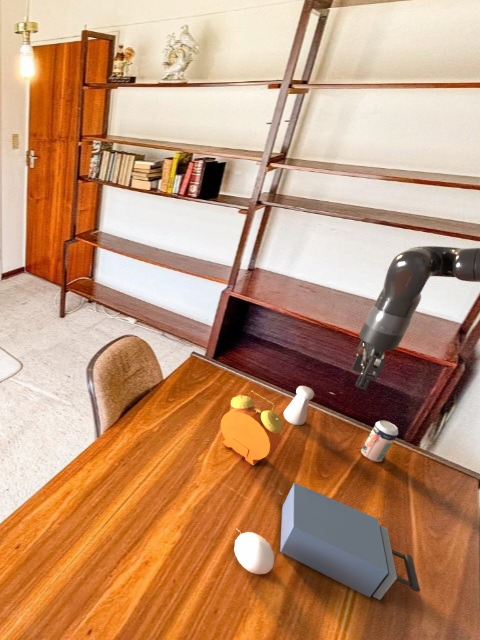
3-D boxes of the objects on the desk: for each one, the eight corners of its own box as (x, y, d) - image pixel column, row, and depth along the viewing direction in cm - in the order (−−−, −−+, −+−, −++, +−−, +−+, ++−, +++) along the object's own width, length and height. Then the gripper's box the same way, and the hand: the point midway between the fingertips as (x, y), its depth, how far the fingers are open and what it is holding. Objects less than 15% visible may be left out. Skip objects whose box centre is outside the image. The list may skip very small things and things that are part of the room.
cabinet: (360, 546, 89) (378, 519, 85) (367, 600, 79) (388, 572, 75) (281, 509, 96) (294, 482, 92) (278, 554, 87) (293, 526, 82)
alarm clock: (270, 463, 108) (295, 408, 100) (259, 473, 105) (283, 417, 97) (225, 431, 118) (244, 378, 110) (213, 440, 115) (232, 386, 106)
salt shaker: (286, 427, 121) (300, 394, 115) (278, 413, 126) (291, 381, 120) (306, 430, 120) (322, 397, 114) (298, 416, 125) (312, 384, 119)
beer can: (360, 447, 114) (378, 416, 109) (381, 457, 111) (400, 426, 106) (358, 456, 111) (375, 425, 106) (379, 467, 108) (398, 435, 103)
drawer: (399, 563, 85) (416, 541, 82) (410, 616, 76) (430, 593, 73) (295, 514, 94) (306, 493, 91) (295, 557, 85) (307, 534, 82)
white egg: (276, 579, 82) (288, 558, 79) (244, 584, 81) (254, 563, 78) (246, 531, 91) (255, 511, 88) (216, 535, 90) (224, 514, 87)
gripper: (411, 345, 88) (380, 400, 95) (399, 318, 99) (372, 370, 106) (369, 334, 92) (342, 388, 99) (362, 309, 103) (338, 360, 110)
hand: (358, 378), depth 103 cm, fingers open, 8 cm apart
